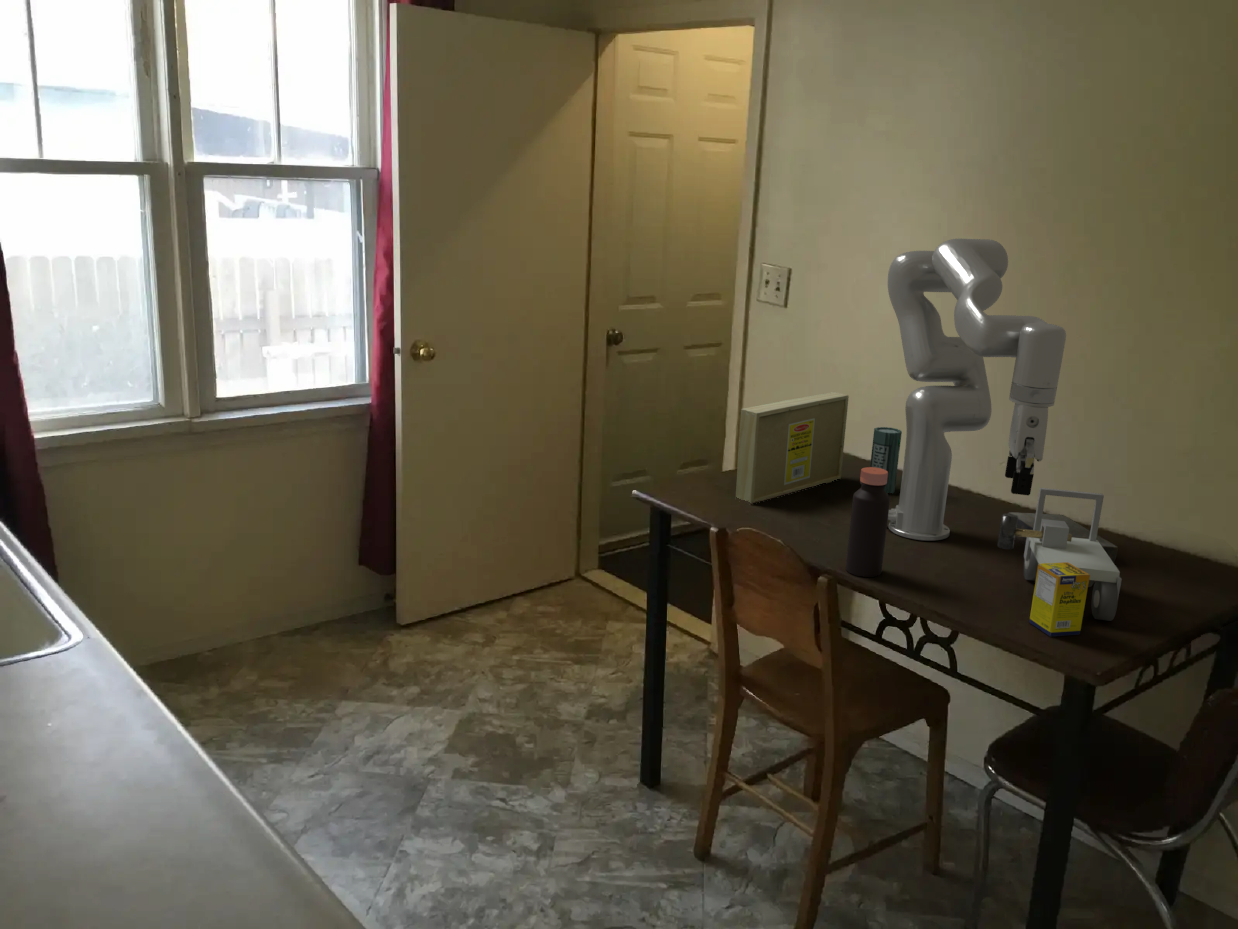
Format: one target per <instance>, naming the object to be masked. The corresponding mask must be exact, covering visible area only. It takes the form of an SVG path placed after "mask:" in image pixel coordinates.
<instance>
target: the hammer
mask: <svg viewBox="0 0 1238 929" xmlns="http://www.w3.org/2000/svg"><path fill="white" fill-rule="evenodd" d="M1000 518H1001V519H1000V525H999V526H1000V527H999V532H998V539H997V547H998V548H999V549H1004V550H1013V549H1014V547H1015V546H1014V545H1015V541H1016V540H1015V536H1020V537H1030V538H1040V539H1043V533H1044V531H1036V530H1027V529H1017V528H1016V527H1017V521H1018V516H1016V515H1014V514H1008V513H1002V514H1001V517H1000ZM1071 539H1072V535H1071V534H1068V539H1067V541H1068V542H1071Z"/></svg>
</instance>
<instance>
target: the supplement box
mask: <svg viewBox="0 0 1238 929" xmlns="http://www.w3.org/2000/svg"><path fill="white" fill-rule="evenodd" d="M1089 578H1090V575H1089V574H1088V573H1086V572H1084V571H1082V570H1080V569H1079V568H1077V567H1075V566H1073V565H1072V564H1070V563H1068V562H1063V563H1041V564H1038V569H1037V575H1036V581H1034V583H1035V584H1034V589H1033V595H1032V602H1031V610H1030V614H1029V615H1030V616H1029V621H1028V622H1029V623H1030V624H1031V625H1032V626H1034V627H1035V628H1036V629H1039V630H1040V631H1041V632H1043V633H1044V634H1046V635H1047V636H1048V637H1063V636H1079V635H1080V634H1081V631H1082V630H1081V629H1082V624H1083V619H1084V618H1083V617H1084V611H1085V607H1086V606H1085V605H1086V599H1087V594H1088V588H1089V587H1088V584H1089Z"/></svg>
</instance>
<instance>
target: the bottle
mask: <svg viewBox="0 0 1238 929" xmlns="http://www.w3.org/2000/svg"><path fill="white" fill-rule="evenodd" d="M859 476H860V477H859V478H860V479H859V484H860V485H861V486H860V487H859V489H858V490H856V491H855V492H853V496H852V505H851V514H850V522H849V523H850V524H849V531H848V532H849V533H848V542H847V552H846V559H845V570H846V571H847V572H848V573H849V574H850V575H854V576H856V575H857V577H861V576H863V577H862V578H874V576H875V577H878V576H880V575H881V573H882V571H883V570H882V569H883V564H884V563H883V561H884V554H885V545H886V537H887V528H888V522H889V520H888V513H889V510H890V503H891V498H890V496H889V494H887V493H886V492H885V491H884V487H886V484H887V478H888V471H886V470H884V469H881V468H875V467H870V466H868V467H863V468H861V469H860V475H859ZM877 575H878V576H877Z"/></svg>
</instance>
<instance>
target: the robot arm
mask: <svg viewBox="0 0 1238 929" xmlns="http://www.w3.org/2000/svg"><path fill="white" fill-rule="evenodd" d="M1008 257H1009V256H1008V253H1007V251H1006V249H1005V247H1004V246H1003V245H1002V244H1001V243H1000V242H998V241H997V240H994V239H985V238H982V239H981V238H952V239H951V238H950V239H948V240H945V241H942V242H941V243H940V244H939V245H938V246H936V247H935V249H934V250H911V251H906V252H902V253H900V254H898V255H897V256H895V257H894V258H893V260H892V262H891V263H890V266H889V269H888V273H887V292H888V296H889V300H890V302H891V306H892V308H893V310H894V313H895V315H896V319H897V321H898V326H899V331H900V338H901V339H900V340H901V343H902V351H903V357H904V362H905V367H906V371H907V374H908V375H909V377H910V379H911V380H914V381H915V382H921V383H953V385H925V386H921V387H917V388H915V389H914V390H913V391H911V392H910V393H909V394H908V396H907V398H906V401H905V422H906V423H905V424H906V432H905V433H906V434H905V435H906V438H905V449H904V458H903V459H904V460H903V468H902V473H901V474H902V475H901V483H900V490H899V491H900V493H899V498H898V499H899V500H898V504H896V506H895V508H890V509H889V513H888V529H889V530H890V531H891V532H892V533H893V534H896V535H897V536H900V537H903V538H907V539H912V540H917V541H933V542H934V541H941V540H942V541H943V540H945V539H948V537H949V536H950V532H951V530H950V528H949V526H947V525H945V524H944V519H945V511H946V506H947V505H946V503H947V496H948V491H949V490H948V489H949V484H950V483H949V482H950V473H951V468H952V467H951V465H952V460H953V453H952V448H951V446H950V443H949V442H948V440H947V438H946V436H945V433H950V432H954V433H955V432H974V431H975V432H976V431H980V430H983V429H984V428H985V427H986V426H987V425H989V423H990V420H991V418H992V410H993V409H992V400H991V398H992V397H991V394H990V386H989V382H988V376H987V370H986V365H985V360H984V358H1015V362H1014V367H1013V373H1012V374H1013V375H1012V379H1011V380H1012V381H1011V385H1010V390H1009V391H1010V392H1009V398H1008V400H1009V401H1010V402H1012V403H1014V405H1013V411H1012V417H1011V423H1010V429H1009V437H1008V447H1009V453H1008V456H1007V460H1006V467H1005V473H1004V476H1005V477H1006V479H1012V481H1011V482H1012V483H1011V486H1010V487H1011V488H1010V493H1011V494H1013V495H1022V496H1030V495H1031V492H1032V486H1033V480H1034V472H1035V460H1036V461H1037V462H1039V463H1040V462H1041V461H1042V460H1043V459H1044V450H1045V443H1046V442H1045V441H1046V436H1047V429H1048V428H1047V427H1048V420H1049V419H1048V418H1049V407H1053V406H1055V401H1056V395H1057V390H1058V384H1059V378H1060V373H1061V368H1062V363H1063V358H1064V351H1065V346H1066V345H1065V344H1066V339H1067V332H1066V330H1065V328H1064V327H1062V326H1060V325H1057V324H1052V323H1047V322H1046V321H1045V320H1043V319H1042V318H1040V317H1037V316H1033V315H1012V314H1011V315H1009V314H1008V315H1004V314H1003V315H1002V314H997V315H996V314H986V313H985V310H989V308H991V307H992V306H994V305H995V303H996V302H997V301H998V300H999V298H1000V296H1001V294H1002V292H1003V282H1002V278H1003V277H1004V276H1005V275H1006V272H1007V269H1008V266H1009V258H1008ZM924 293H951V294H952V296H953V297H954V298H955V299H956V303H955V305H954V312H953V317H954V318H953V319H954V320H953V321H954V328H955V331H956V333H957V335H958V336H947V335H946V334H945V333H944V331H943V326H942V319H941V315H940V313H939V311H938V310H937V307H935V305H934V304H933V303H932V301H930V300H929V298H927V297H926V296H925V294H924Z"/></svg>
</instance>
